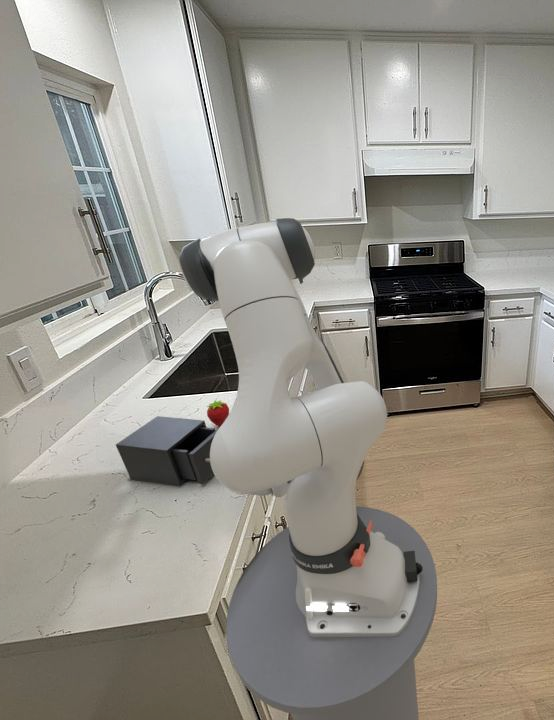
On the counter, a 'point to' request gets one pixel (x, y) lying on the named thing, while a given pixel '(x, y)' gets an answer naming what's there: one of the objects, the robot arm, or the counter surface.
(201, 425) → the drawer box
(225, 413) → the strawberry
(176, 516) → the counter surface
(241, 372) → the robot arm
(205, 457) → the dark grey drawer
